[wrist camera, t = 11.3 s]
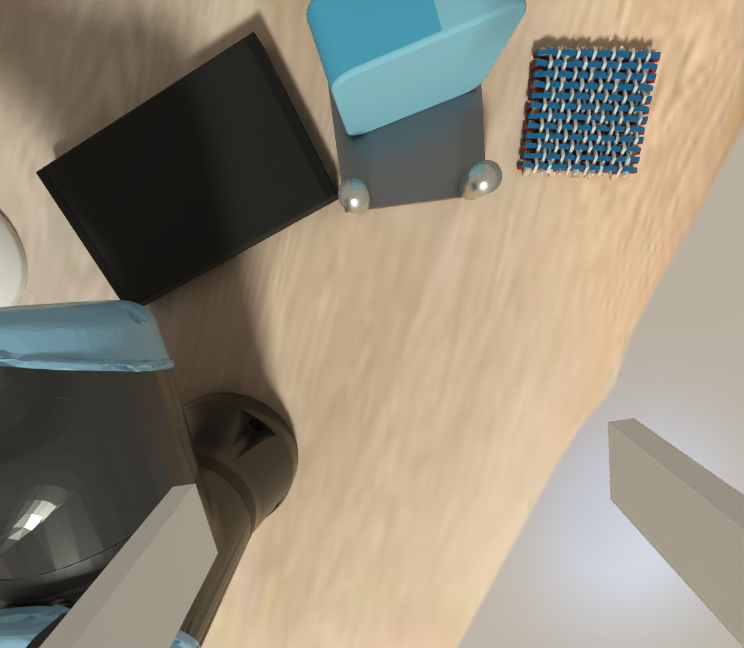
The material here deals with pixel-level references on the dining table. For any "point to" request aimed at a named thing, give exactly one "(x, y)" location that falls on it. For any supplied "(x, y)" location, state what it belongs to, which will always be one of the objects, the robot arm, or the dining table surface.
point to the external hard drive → (191, 176)
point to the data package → (406, 52)
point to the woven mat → (587, 110)
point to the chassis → (416, 157)
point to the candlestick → (11, 265)
